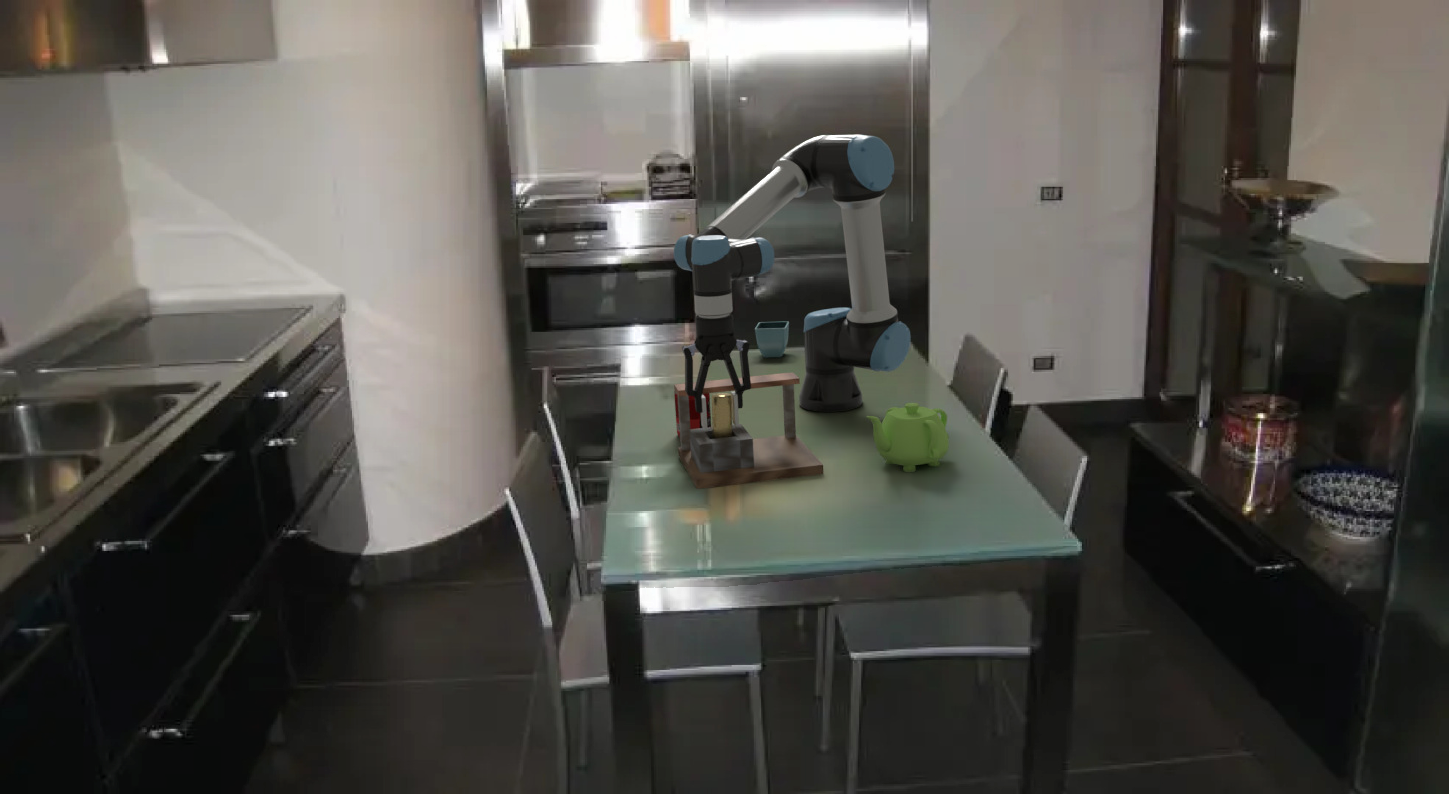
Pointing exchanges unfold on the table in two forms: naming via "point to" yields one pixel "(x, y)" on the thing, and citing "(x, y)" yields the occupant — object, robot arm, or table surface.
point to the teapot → (911, 436)
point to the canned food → (693, 413)
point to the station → (744, 442)
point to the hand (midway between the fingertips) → (720, 425)
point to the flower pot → (772, 338)
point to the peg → (722, 415)
